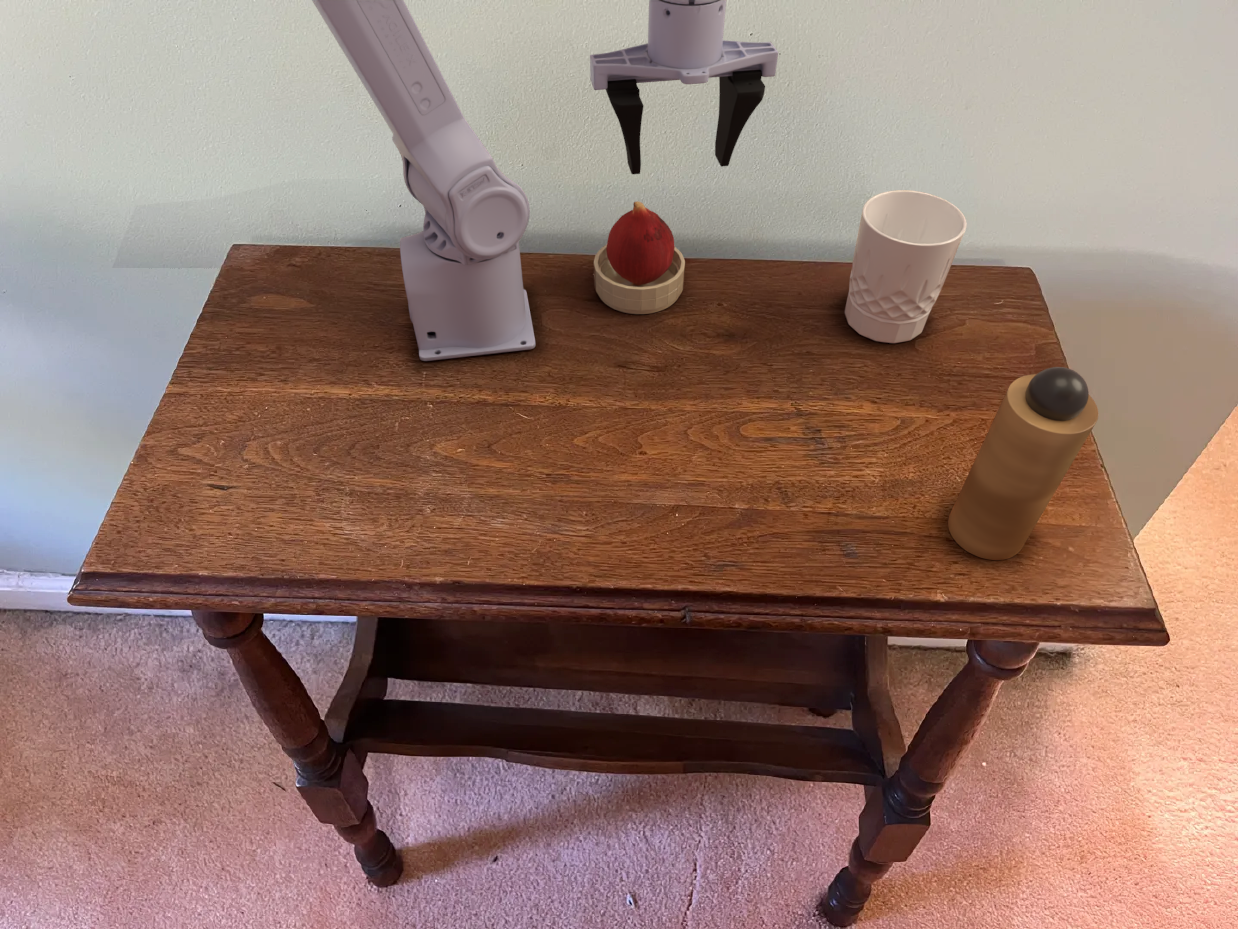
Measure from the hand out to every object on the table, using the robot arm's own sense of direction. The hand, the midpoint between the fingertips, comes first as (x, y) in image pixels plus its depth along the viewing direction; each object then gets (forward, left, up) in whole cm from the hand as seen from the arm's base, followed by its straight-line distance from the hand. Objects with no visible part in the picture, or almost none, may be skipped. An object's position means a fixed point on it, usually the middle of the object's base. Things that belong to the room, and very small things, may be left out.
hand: (678, 164), depth 72 cm
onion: (-4, -4, -9) cm, 11 cm away
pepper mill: (+14, -35, -9) cm, 39 cm away
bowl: (-4, -4, -9) cm, 11 cm away
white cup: (+16, -12, -10) cm, 22 cm away
